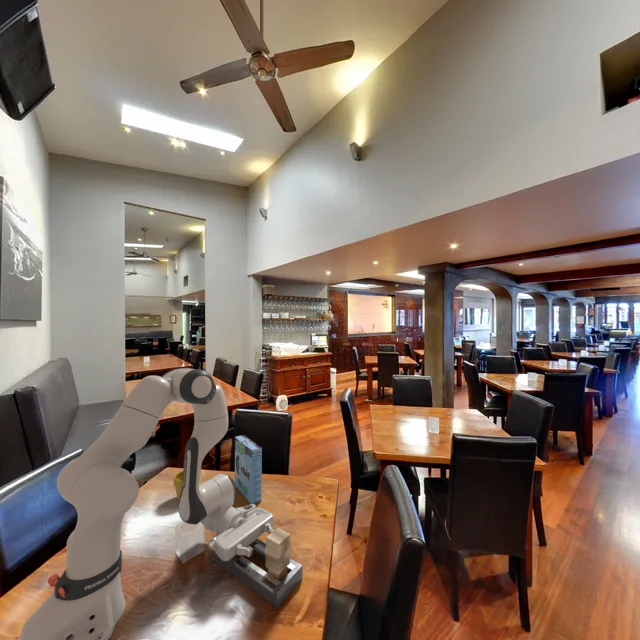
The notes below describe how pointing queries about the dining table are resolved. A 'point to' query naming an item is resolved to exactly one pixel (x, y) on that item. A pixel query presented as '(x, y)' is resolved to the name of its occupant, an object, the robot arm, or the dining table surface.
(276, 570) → the birch keyhole peg
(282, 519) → the dining table surface
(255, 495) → the gum box
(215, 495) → the robot arm
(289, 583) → the grey slotted frame
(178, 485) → the plant pot
